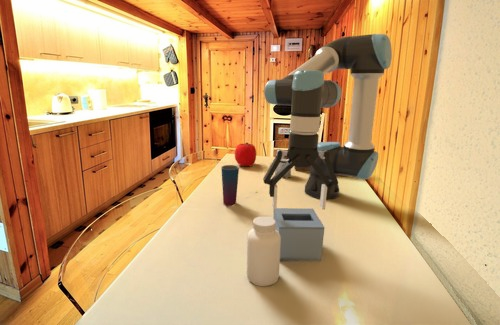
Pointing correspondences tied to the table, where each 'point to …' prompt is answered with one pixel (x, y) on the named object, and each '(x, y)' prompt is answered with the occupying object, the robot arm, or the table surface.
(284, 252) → the grey hollow box
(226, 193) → the cup
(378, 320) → the table surface
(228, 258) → the table surface
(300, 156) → the robot arm
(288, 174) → the mug
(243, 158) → the tomato
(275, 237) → the pill bottle
